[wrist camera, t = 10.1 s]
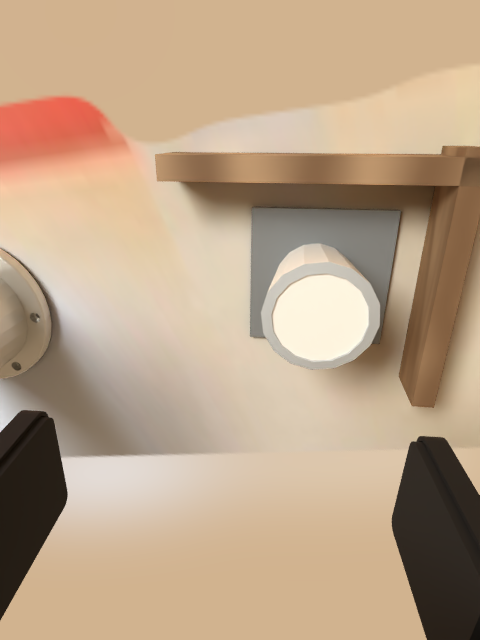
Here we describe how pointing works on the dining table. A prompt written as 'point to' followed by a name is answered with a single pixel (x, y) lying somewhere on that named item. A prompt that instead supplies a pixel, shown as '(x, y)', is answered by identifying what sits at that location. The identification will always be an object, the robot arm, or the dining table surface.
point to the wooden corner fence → (381, 169)
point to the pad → (328, 229)
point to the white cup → (319, 309)
